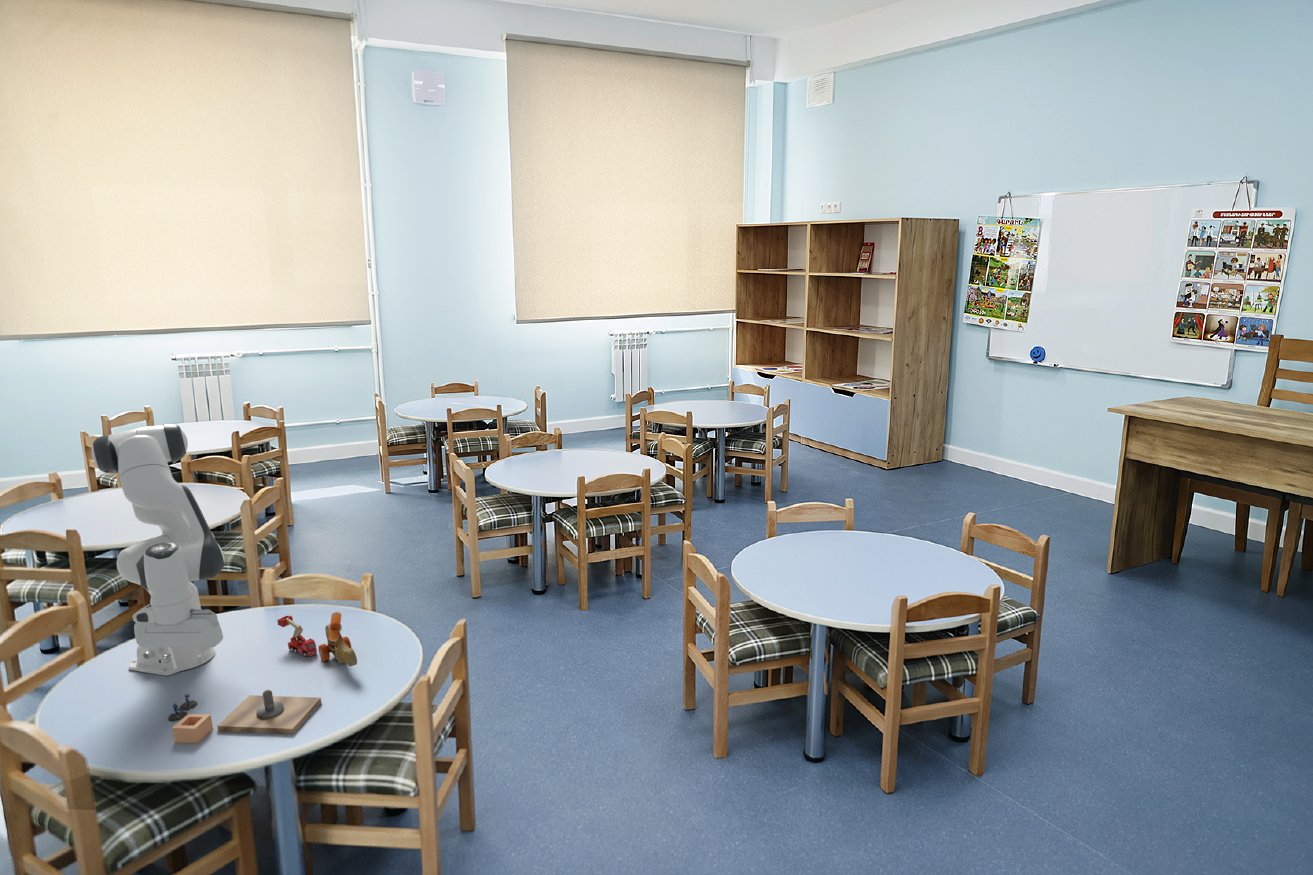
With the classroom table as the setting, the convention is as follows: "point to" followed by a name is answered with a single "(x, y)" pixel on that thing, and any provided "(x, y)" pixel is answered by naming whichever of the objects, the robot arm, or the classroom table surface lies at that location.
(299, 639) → the toy fire truck
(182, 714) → the figurines
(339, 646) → the toy helicopter
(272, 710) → the stand
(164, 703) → the classroom table surface
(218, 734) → the classroom table surface
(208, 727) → the square frame block
